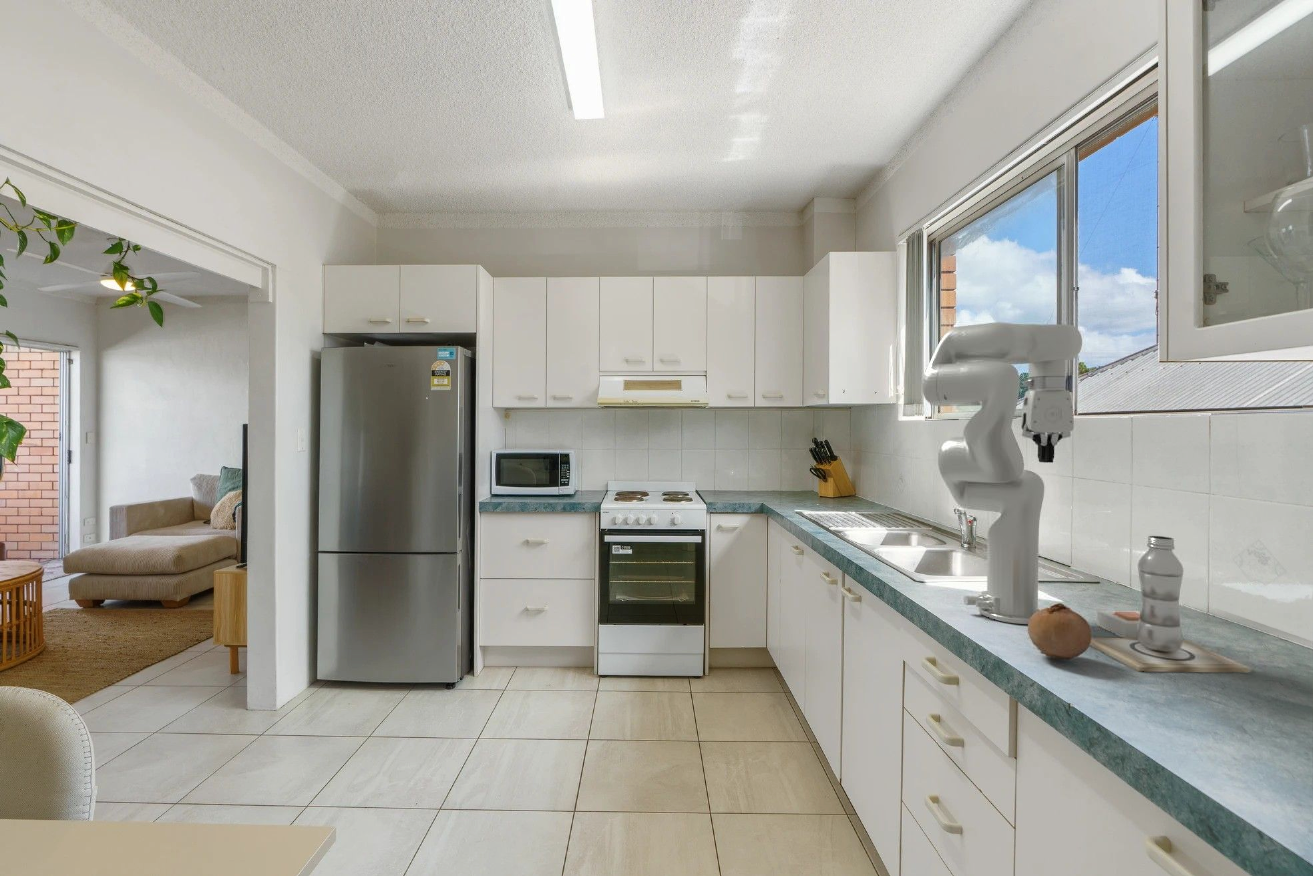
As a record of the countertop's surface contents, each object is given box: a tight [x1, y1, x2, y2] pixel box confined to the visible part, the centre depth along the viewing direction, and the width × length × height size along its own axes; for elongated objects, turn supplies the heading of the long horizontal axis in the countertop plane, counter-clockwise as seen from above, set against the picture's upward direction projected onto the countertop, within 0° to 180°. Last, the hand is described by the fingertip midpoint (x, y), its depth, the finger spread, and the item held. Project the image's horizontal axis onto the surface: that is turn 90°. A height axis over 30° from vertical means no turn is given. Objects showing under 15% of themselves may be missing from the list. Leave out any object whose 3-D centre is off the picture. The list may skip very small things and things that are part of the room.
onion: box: [1027, 602, 1093, 661], centre depth 109 cm, size 10×9×10 cm
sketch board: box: [1089, 637, 1251, 674], centre depth 111 cm, size 18×14×1 cm
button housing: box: [1096, 610, 1140, 638], centre depth 124 cm, size 8×8×3 cm
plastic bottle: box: [1136, 535, 1184, 652], centre depth 111 cm, size 6×7×20 cm
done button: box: [1115, 612, 1140, 621], centre depth 124 cm, size 4×4×3 cm
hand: (1045, 462), depth 149 cm, fingers closed
